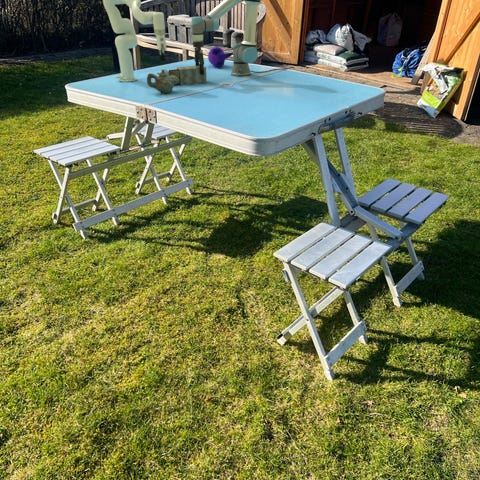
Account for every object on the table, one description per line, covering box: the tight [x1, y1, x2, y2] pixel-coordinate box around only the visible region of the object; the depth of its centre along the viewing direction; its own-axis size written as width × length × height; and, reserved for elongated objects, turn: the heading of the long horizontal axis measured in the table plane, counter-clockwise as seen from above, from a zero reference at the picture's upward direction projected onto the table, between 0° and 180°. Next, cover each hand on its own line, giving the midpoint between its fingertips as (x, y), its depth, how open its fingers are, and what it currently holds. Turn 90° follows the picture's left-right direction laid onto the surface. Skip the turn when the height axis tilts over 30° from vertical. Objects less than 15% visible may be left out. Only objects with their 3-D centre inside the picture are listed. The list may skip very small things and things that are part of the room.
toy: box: [207, 46, 233, 69], centre depth 382 cm, size 16×18×27 cm
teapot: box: [146, 68, 179, 94], centre depth 299 cm, size 21×12×15 cm, turn 109°
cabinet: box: [176, 65, 208, 86], centre depth 328 cm, size 19×10×11 cm, turn 109°
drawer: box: [157, 68, 181, 84], centre depth 324 cm, size 24×9×9 cm, turn 109°
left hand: (162, 60), depth 316 cm, fingers closed
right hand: (199, 73), depth 329 cm, fingers open, 12 cm apart
